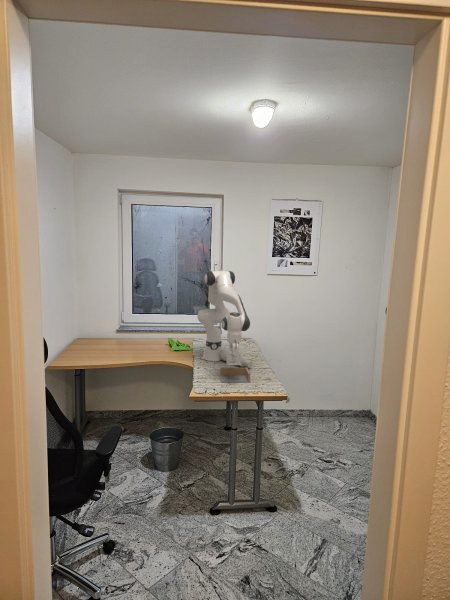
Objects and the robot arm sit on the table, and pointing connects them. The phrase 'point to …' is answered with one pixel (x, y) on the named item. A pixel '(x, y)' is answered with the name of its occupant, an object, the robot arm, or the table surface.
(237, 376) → the tray
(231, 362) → the bracket
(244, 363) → the bottle
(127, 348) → the table surface
